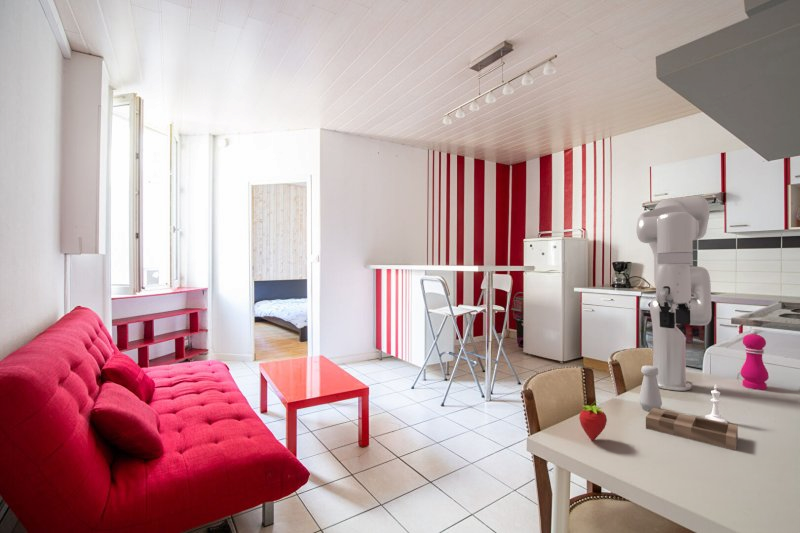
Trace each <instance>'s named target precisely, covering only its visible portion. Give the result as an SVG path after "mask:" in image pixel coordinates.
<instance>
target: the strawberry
mask: <svg viewBox="0 0 800 533" xmlns="http://www.w3.org/2000/svg"><path fill="white" fill-rule="evenodd" d="M595 403H596V401H593V404H594V405H589V404H588V405H581V406H582V407H583V408H582V409H581V411H580V413H579V417H578V419H579V422H580V426H581V428H582V430H583V431H584V433H585V435H587V437H588V438H589V439H590V440H591V441H596V439H597V438H598V436H600V434H602V432H603V431H604V430H605V428H606V426H607V422H608V420H607V415H606V413H605V412H604V411H603V410H601V409H602V407H599V406H596V404H595Z"/></svg>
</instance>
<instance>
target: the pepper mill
mask: <svg viewBox="0 0 800 533" xmlns="http://www.w3.org/2000/svg"><path fill="white" fill-rule="evenodd" d="M742 344H743V345H744V346H745V347H744V352H745V355H746V357H745V361H744V363H743V365H742V367H741V369H740V376H741V377H742V378H743V380H741V382H742V387H744V388H746V389H750V388H752V389H751V390H756V389H760V390H759V391H765V389H766V390H767V389H768V388H767V387H768V384H767V383H766V382H767V381H768V380H769V372H768V370H767V368H766V366H765V365H764V360H763V355H764V354H765V352H764V351H765V349H764V348H765V347H766V345H767V341H766V339H765V338H764V337H763V336H761V335H759V334H758V331H757V330H756V329H752V330H750V334H746V335H744V337H742Z"/></svg>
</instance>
